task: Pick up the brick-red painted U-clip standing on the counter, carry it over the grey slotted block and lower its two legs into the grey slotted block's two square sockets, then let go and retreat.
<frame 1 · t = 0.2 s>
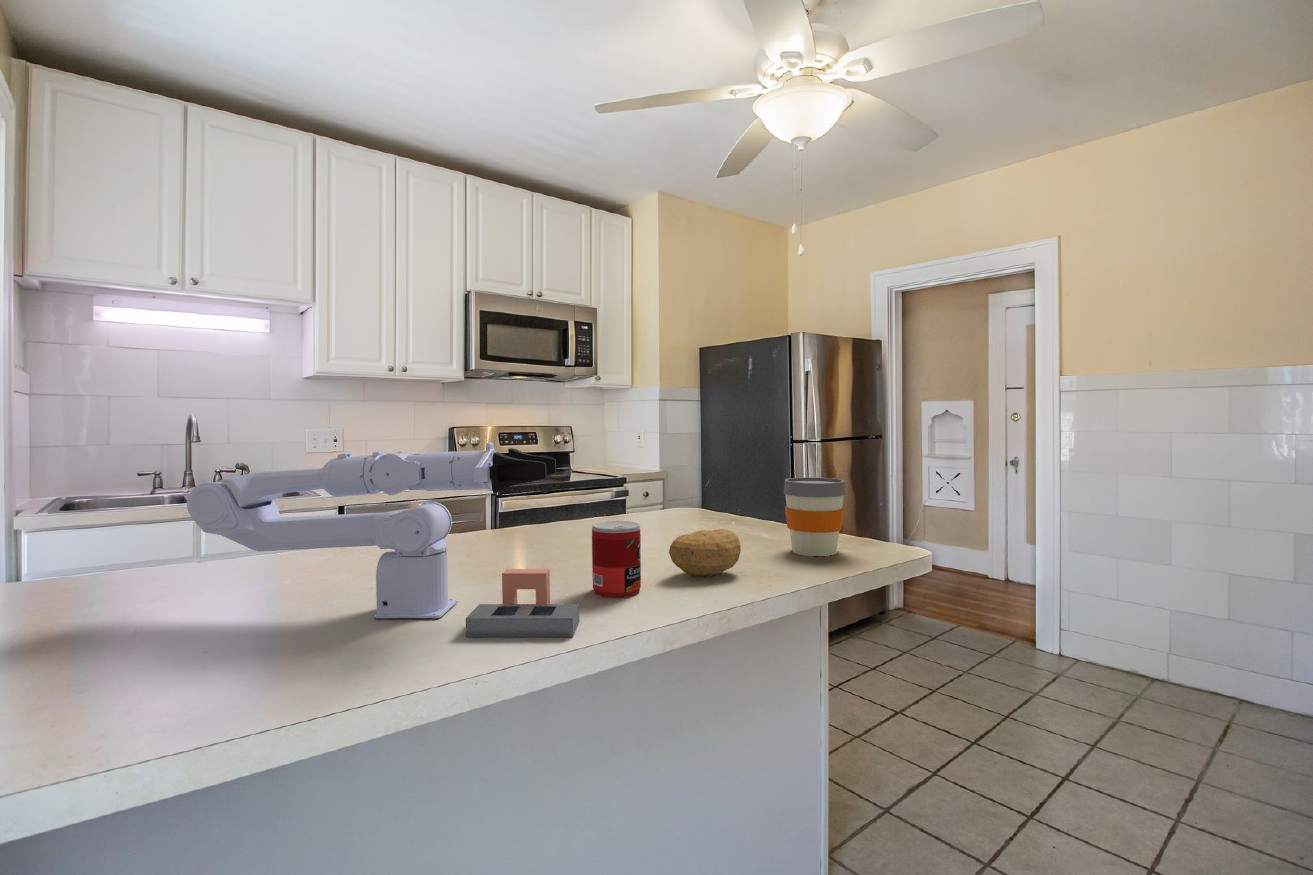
hand: (551, 468, 91), 21 cm above the worktop, tool horizontal, fingers open, 7 cm apart
grey slotted block: (524, 629, 84), on the worktop
potato: (704, 576, 111), on the worktop
reusable coffee cup: (814, 552, 130), on the worktop
clip: (526, 606, 94), on the worktop
canned food: (616, 592, 102), on the worktop
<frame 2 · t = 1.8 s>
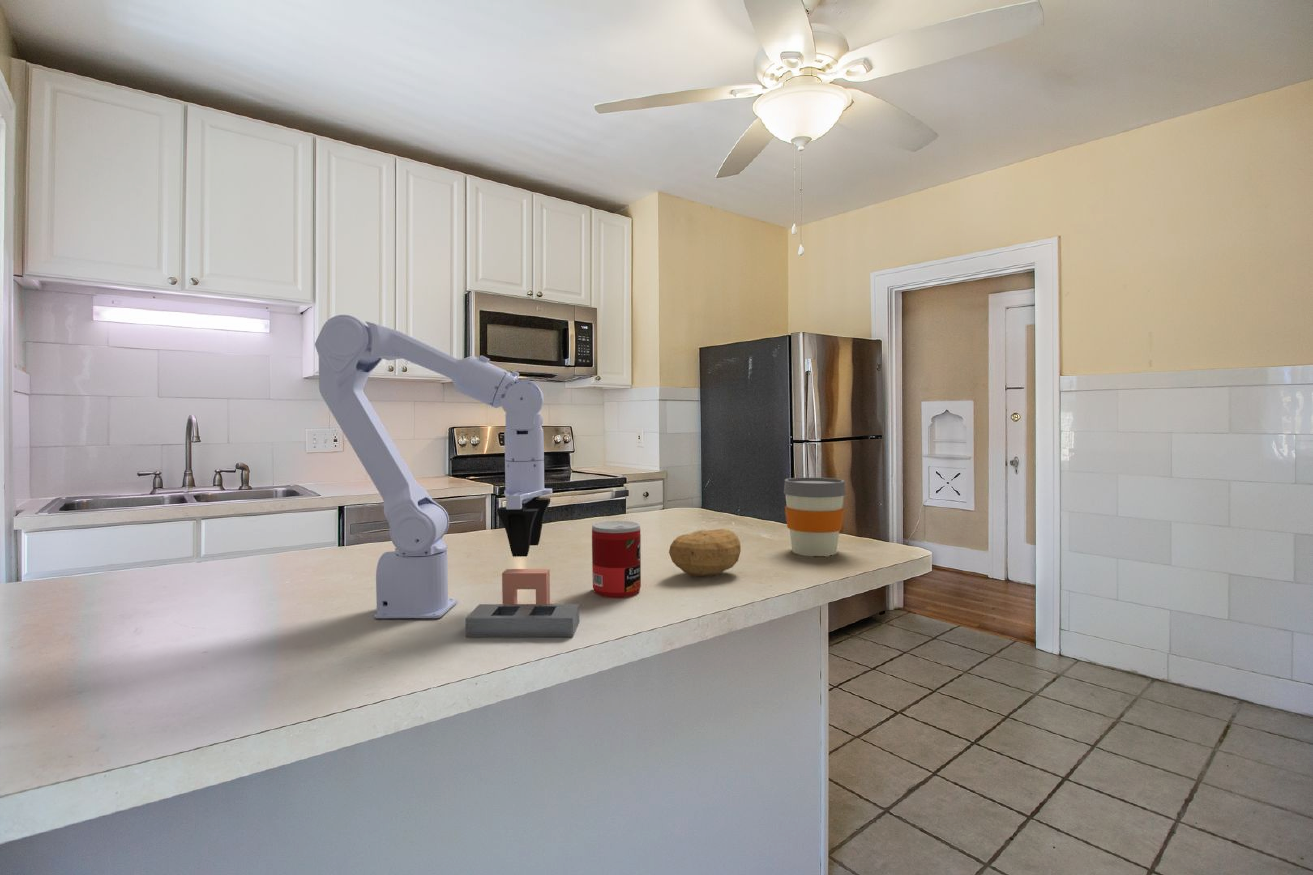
hand: (526, 550, 94), 9 cm above the worktop, tool pointing down, fingers open, 7 cm apart
nothing on the worktop moved.
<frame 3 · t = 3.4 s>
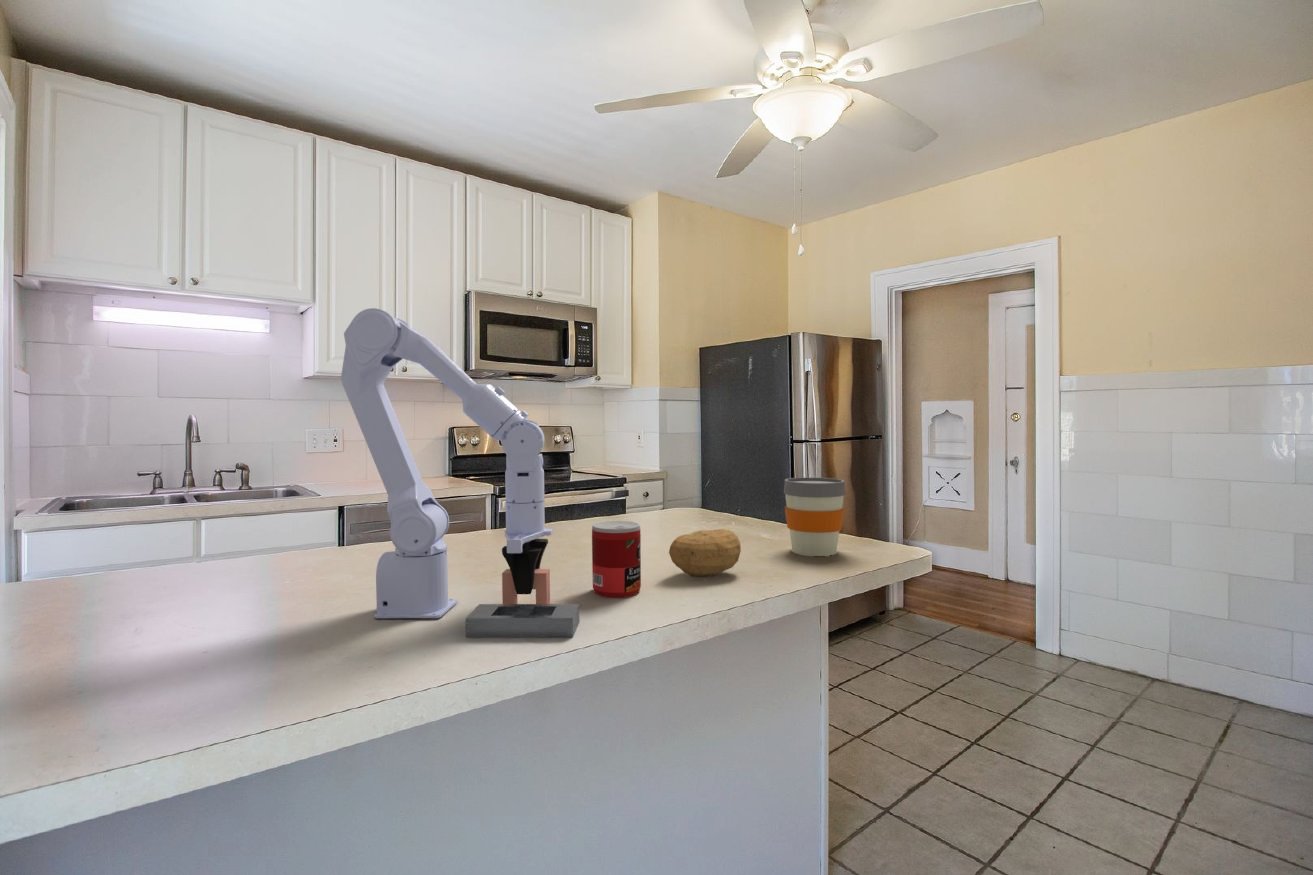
hand: (526, 590, 94), 2 cm above the worktop, tool pointing down, fingers closed on clip, 3 cm apart
clip: (526, 606, 94), on the worktop, touching gripper
everything else where it was.
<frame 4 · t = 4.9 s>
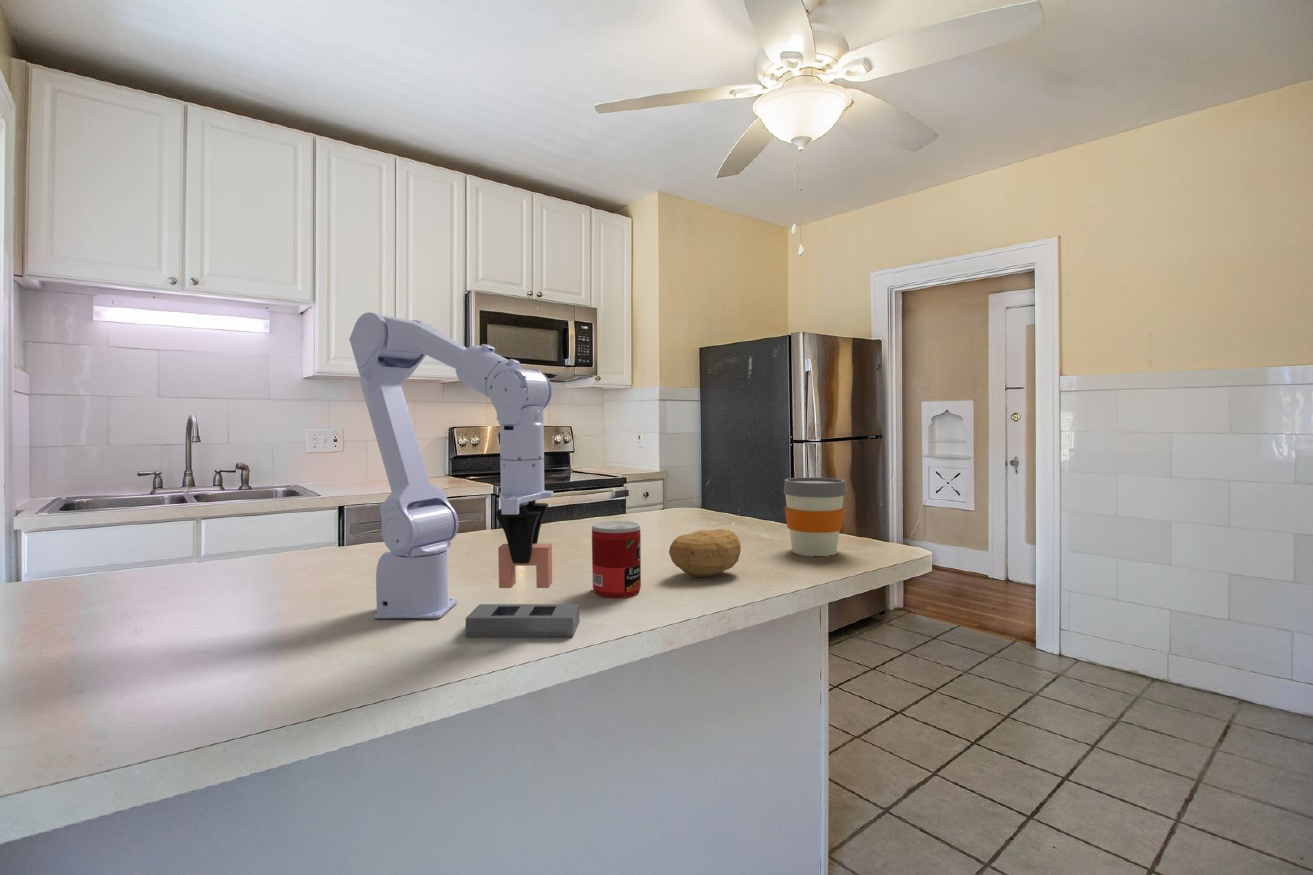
hand: (523, 559, 84), 9 cm above the worktop, tool pointing down, fingers closed on clip, 3 cm apart
clip: (526, 585, 84), point 6 cm above the worktop, touching gripper
everything else where it was.
when the fingers open (3 cm above the worktop, at t = 6.7 s): clip stays where it is, resting in grey slotted block.
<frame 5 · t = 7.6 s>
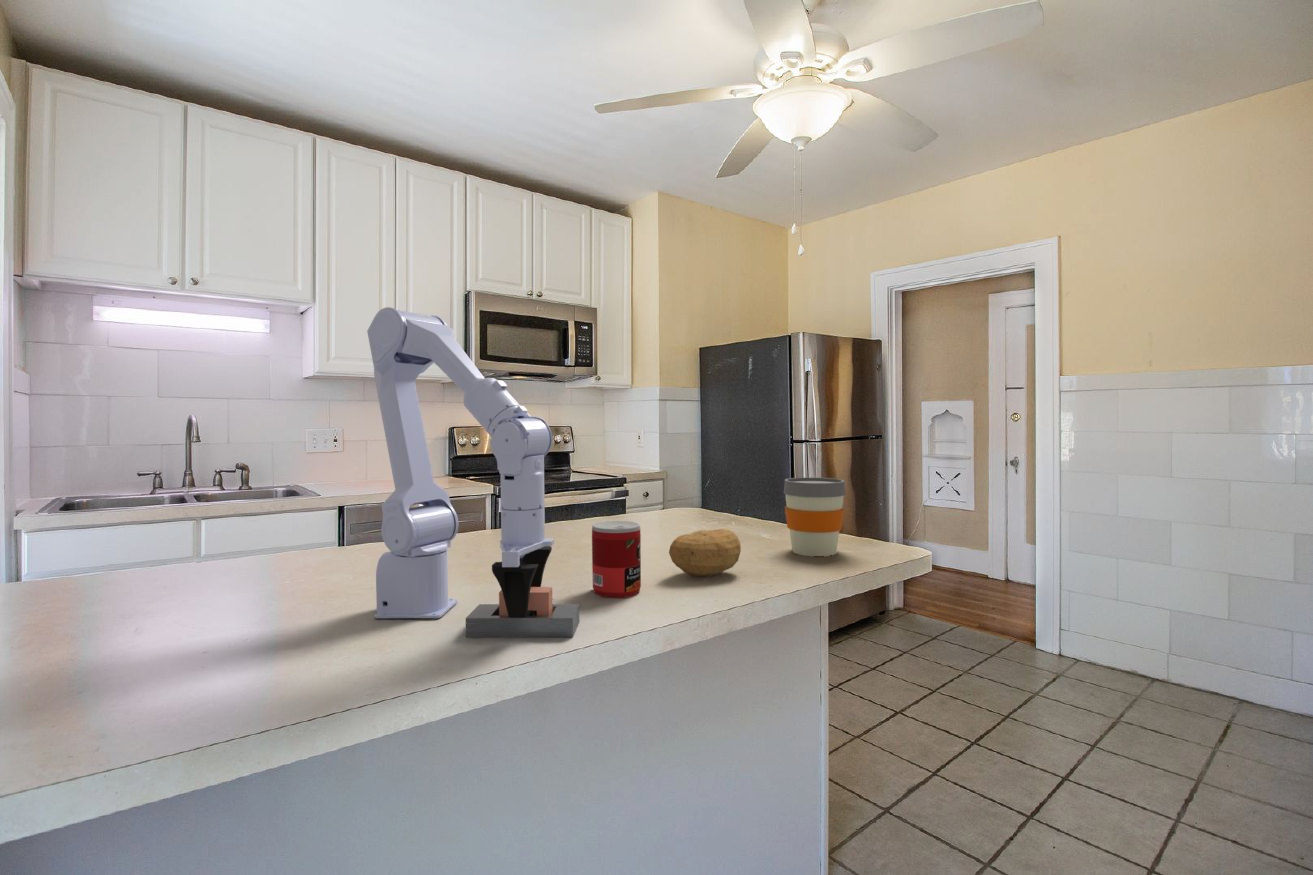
hand: (524, 607, 84), 3 cm above the worktop, tool pointing down, fingers open, 7 cm apart
clip: (526, 629, 84), resting in grey slotted block
everything else where it was.
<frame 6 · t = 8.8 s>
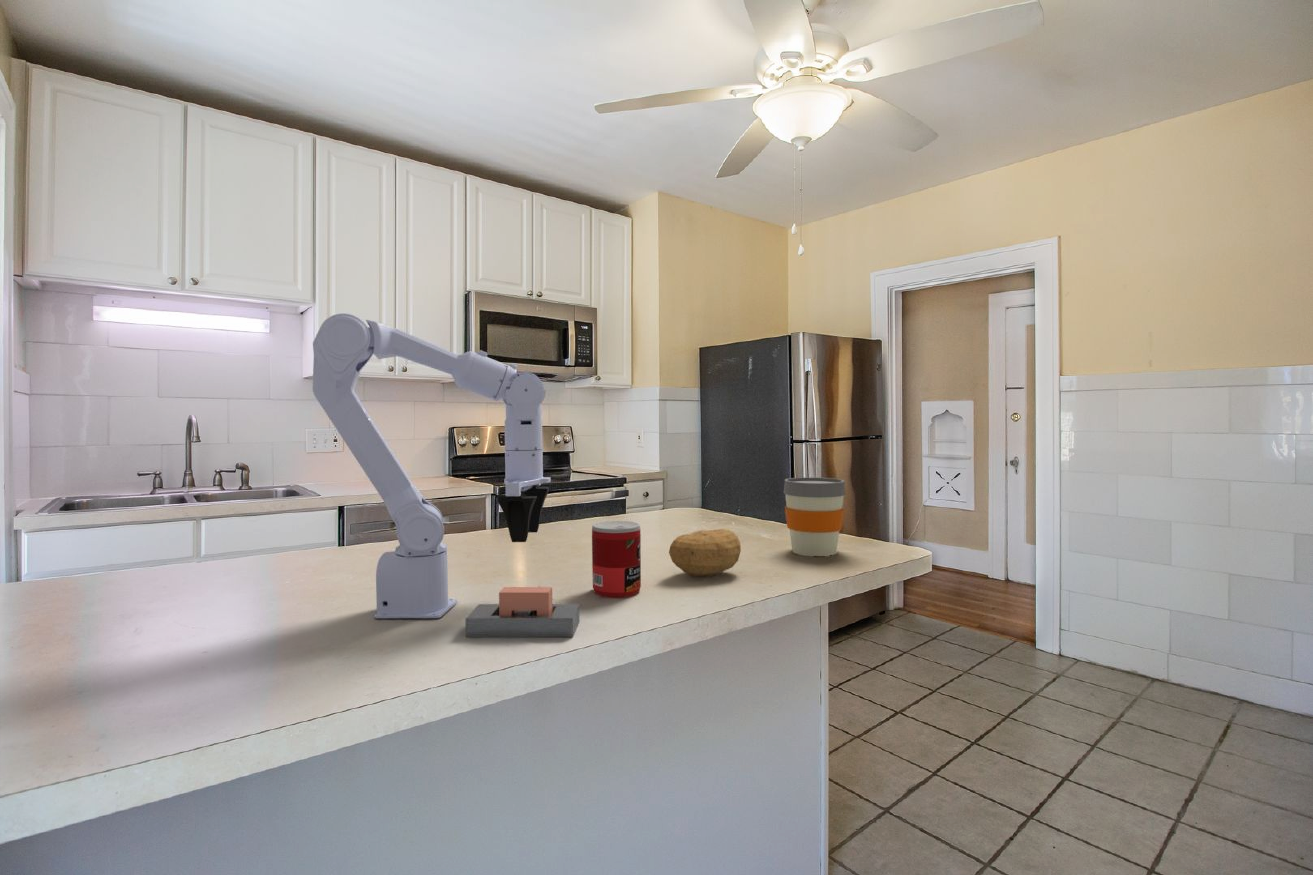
hand: (525, 536, 97), 10 cm above the worktop, tool pointing down, fingers open, 7 cm apart
nothing on the worktop moved.
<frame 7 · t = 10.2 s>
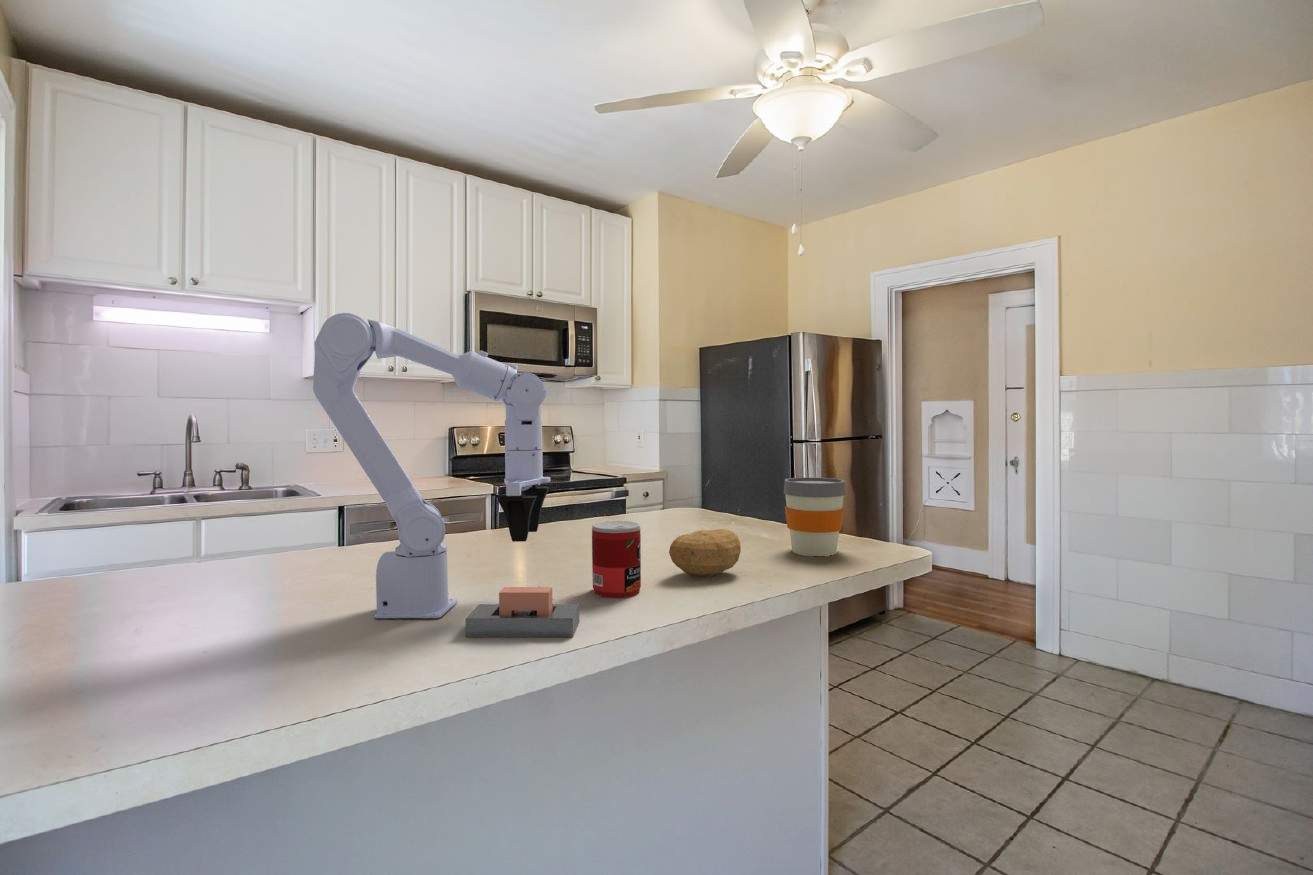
hand: (525, 536, 98), 10 cm above the worktop, tool pointing down, fingers open, 7 cm apart
nothing on the worktop moved.
at the end: clip 0.3 cm off-centre on the grey slotted block, point 0.0 cm above the grey slotted block's base; clip tilted 0°; the gripper is holding nothing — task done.
